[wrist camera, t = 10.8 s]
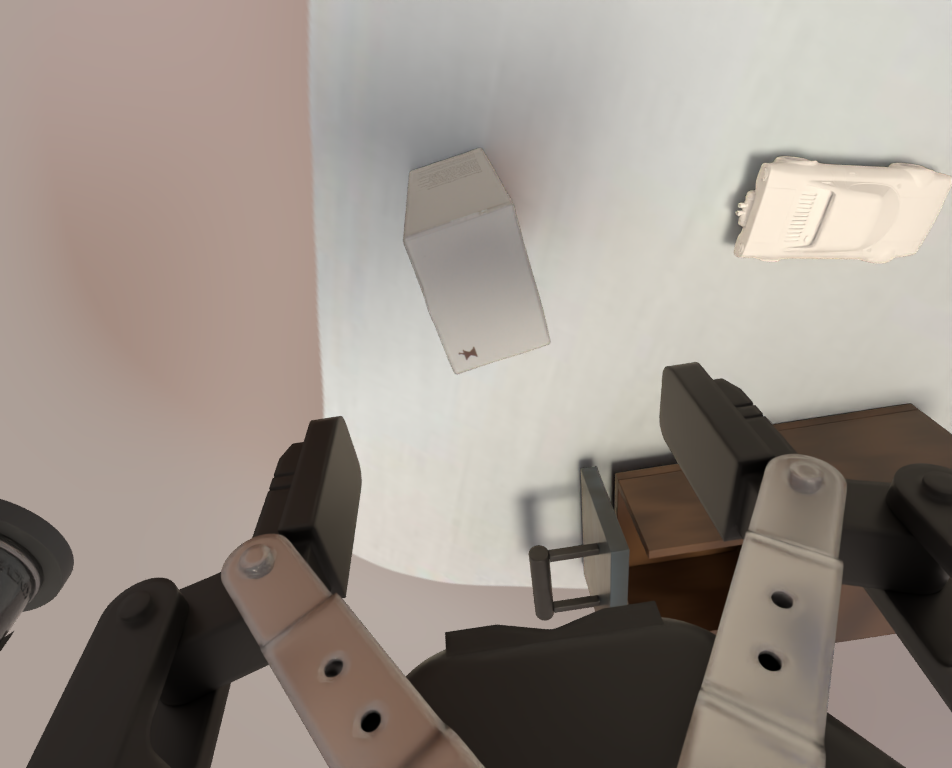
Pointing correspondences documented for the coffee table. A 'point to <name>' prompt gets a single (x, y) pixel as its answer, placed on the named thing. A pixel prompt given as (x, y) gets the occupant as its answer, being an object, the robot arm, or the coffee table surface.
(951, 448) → the cabinet
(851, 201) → the toy car
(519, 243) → the cosmetic box
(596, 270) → the coffee table surface
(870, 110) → the coffee table surface
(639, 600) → the drawer
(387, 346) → the coffee table surface
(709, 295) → the coffee table surface
